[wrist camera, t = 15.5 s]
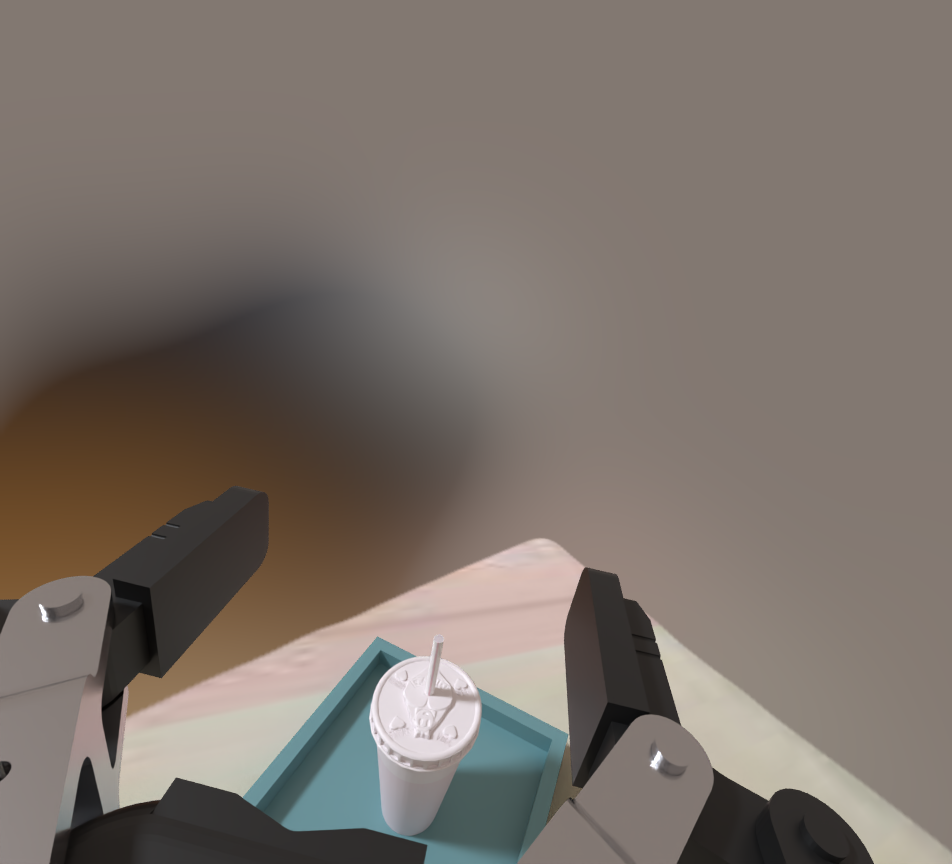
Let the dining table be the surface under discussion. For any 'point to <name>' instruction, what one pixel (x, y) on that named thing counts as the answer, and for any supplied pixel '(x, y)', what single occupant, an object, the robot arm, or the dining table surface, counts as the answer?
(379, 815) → the tray
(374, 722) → the smoothie
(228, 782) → the dining table surface
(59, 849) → the robot arm
